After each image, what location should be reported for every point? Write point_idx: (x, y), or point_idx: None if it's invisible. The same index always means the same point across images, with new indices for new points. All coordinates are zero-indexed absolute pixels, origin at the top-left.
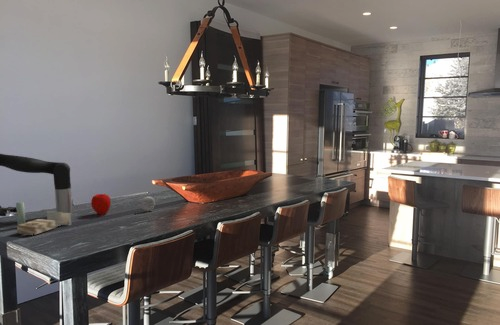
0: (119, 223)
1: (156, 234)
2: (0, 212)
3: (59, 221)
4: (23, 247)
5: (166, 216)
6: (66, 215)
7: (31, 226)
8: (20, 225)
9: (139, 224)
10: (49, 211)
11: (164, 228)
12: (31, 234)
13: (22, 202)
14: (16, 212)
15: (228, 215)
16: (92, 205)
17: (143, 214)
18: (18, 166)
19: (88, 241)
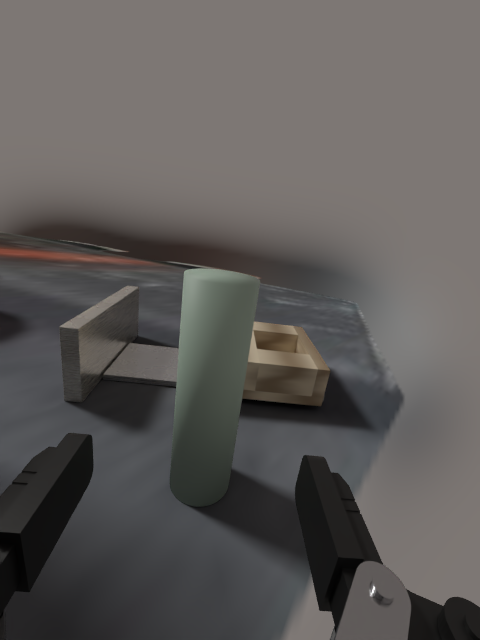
0: (115, 287)
1: None
2: (355, 546)
3: (119, 344)
4: (375, 343)
5: (54, 263)
6: (134, 299)
7: (302, 334)
8: (321, 359)
9: (128, 276)
10: (79, 322)
11: (157, 267)
12: None
13: (200, 272)
14: (75, 504)
15: (72, 246)
16: None
17: (8, 273)
18: None
19: (265, 298)
